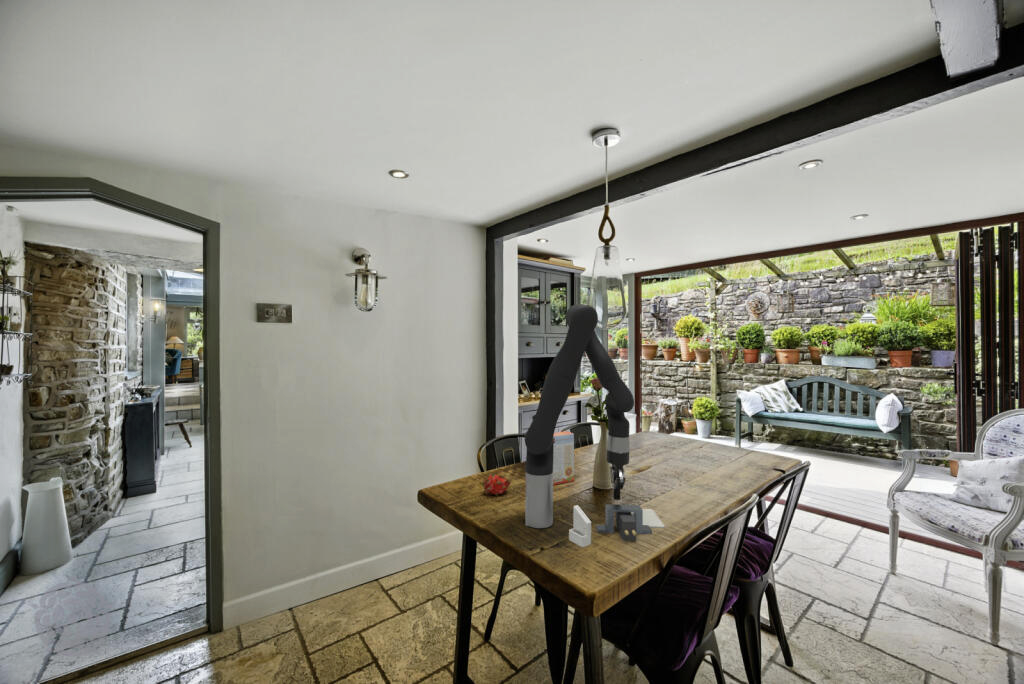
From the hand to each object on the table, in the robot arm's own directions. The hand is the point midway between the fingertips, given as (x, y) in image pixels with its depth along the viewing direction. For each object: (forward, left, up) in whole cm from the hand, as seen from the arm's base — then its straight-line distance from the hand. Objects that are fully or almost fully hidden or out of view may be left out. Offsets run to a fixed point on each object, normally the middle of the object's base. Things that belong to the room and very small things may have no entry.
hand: (616, 499), depth 145 cm
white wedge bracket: (-15, -16, -7) cm, 23 cm away
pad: (+10, +1, -7) cm, 13 cm away
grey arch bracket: (0, -8, -7) cm, 11 cm away
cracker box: (-18, +37, -7) cm, 41 cm away
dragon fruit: (-43, +23, -7) cm, 49 cm away
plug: (+1, -10, -7) cm, 12 cm away
